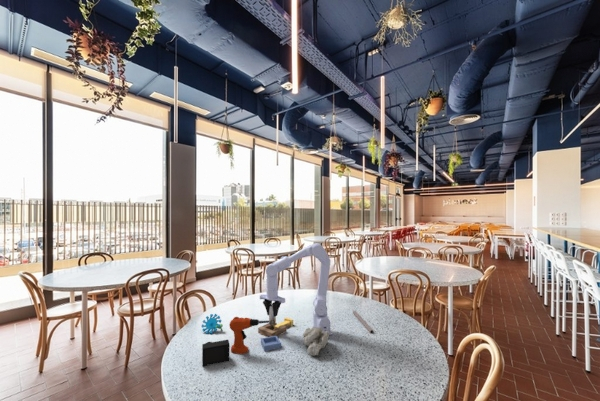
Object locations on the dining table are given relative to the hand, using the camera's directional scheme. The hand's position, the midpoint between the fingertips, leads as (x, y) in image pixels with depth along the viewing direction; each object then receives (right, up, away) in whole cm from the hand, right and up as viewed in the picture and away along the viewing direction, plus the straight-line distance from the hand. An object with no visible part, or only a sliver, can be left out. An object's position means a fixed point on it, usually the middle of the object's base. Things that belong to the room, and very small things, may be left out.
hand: (272, 315), depth 134 cm
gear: (-31, -9, +2) cm, 32 cm away
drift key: (+5, -9, +6) cm, 11 cm away
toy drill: (-8, -8, -19) cm, 22 cm away
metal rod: (+48, -9, +11) cm, 50 cm away
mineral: (+21, -8, -17) cm, 28 cm away
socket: (+2, -8, +1) cm, 9 cm away
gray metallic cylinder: (0, -4, 0) cm, 4 cm away
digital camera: (-21, -8, -26) cm, 34 cm away
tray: (+1, -8, -14) cm, 16 cm away
